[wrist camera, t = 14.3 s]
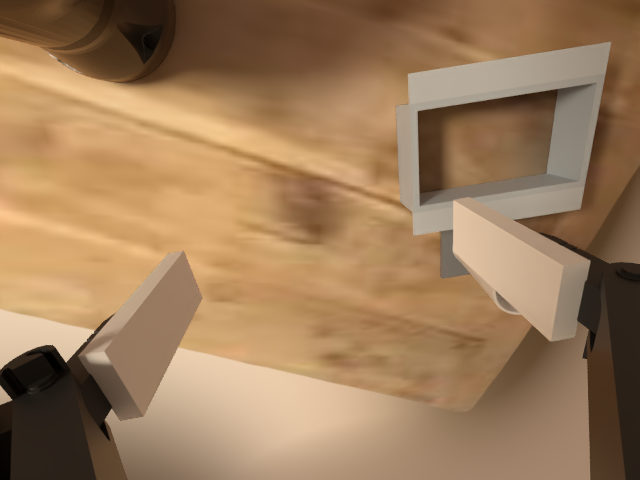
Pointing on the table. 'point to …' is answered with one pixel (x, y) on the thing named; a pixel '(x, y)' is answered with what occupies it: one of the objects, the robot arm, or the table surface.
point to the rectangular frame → (497, 82)
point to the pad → (450, 257)
